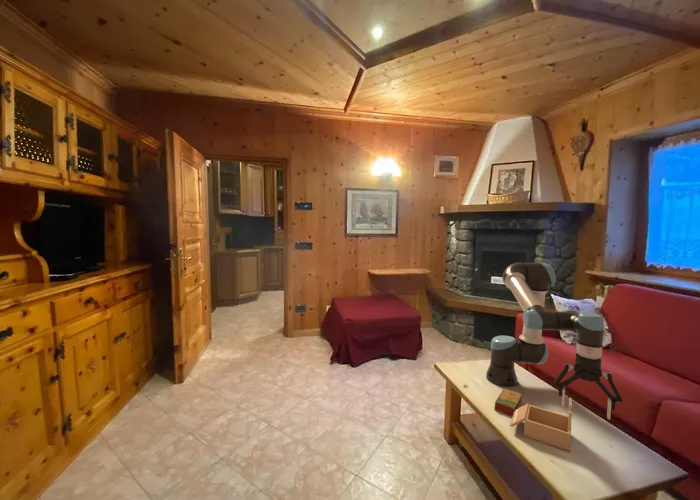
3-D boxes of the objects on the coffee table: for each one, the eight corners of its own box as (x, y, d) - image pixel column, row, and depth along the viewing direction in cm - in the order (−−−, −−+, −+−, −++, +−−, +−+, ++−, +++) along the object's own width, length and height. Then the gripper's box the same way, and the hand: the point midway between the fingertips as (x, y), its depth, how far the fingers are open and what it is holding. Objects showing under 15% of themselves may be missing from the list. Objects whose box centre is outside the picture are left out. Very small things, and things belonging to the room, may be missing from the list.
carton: (522, 402, 148) (522, 393, 147) (514, 418, 135) (514, 408, 135) (503, 395, 153) (503, 387, 153) (494, 410, 141) (494, 401, 140)
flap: (568, 414, 124) (569, 397, 124) (571, 415, 124) (571, 398, 123) (568, 431, 114) (568, 412, 114) (571, 432, 114) (571, 413, 113)
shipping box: (514, 415, 136) (515, 399, 135) (569, 433, 125) (570, 415, 124) (509, 431, 125) (510, 413, 125) (569, 452, 114) (570, 432, 113)
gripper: (547, 350, 119) (544, 404, 120) (635, 368, 104) (631, 428, 105) (549, 344, 125) (546, 395, 126) (632, 360, 110) (628, 417, 112)
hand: (584, 410), depth 116 cm, fingers open, 13 cm apart
